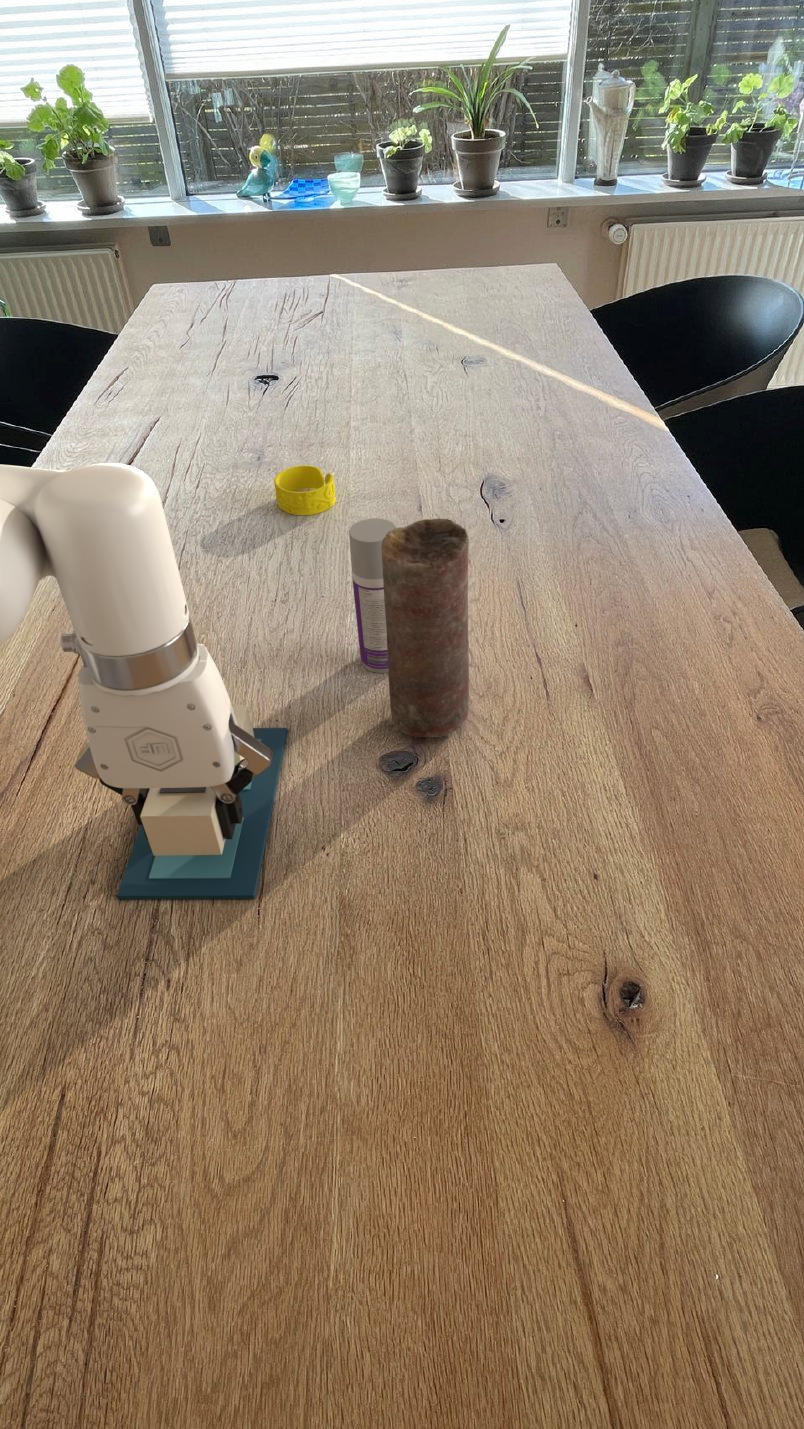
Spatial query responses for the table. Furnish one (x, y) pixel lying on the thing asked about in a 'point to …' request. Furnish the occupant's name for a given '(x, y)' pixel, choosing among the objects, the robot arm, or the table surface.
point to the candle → (427, 626)
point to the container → (370, 591)
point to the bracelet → (306, 500)
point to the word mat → (213, 872)
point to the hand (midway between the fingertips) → (193, 825)
